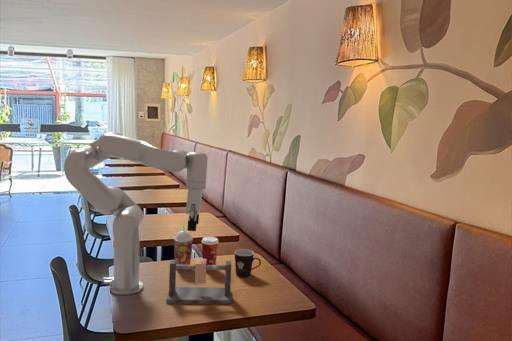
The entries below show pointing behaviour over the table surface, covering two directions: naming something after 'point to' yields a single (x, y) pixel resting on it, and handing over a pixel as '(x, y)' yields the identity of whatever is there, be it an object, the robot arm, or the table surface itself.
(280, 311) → the table surface
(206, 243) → the paper cup
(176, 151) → the robot arm
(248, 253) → the coffee mug
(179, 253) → the smoothie
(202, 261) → the open topped box
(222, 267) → the rack
